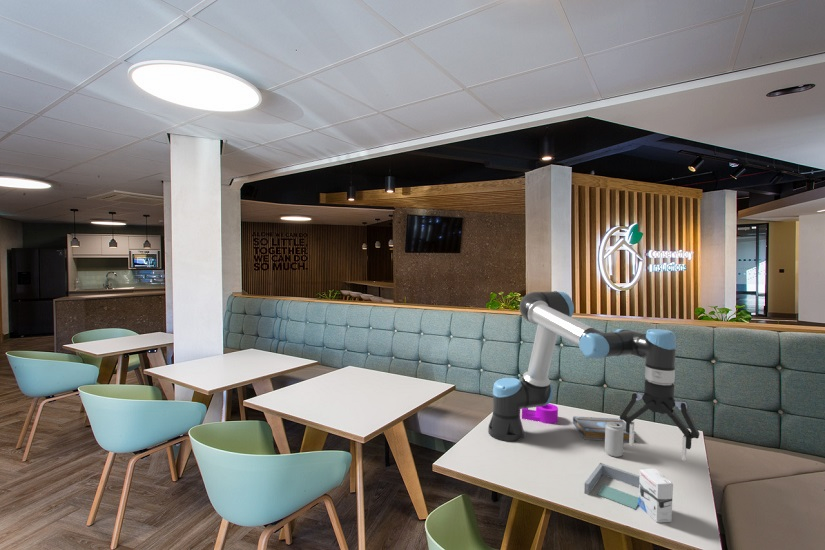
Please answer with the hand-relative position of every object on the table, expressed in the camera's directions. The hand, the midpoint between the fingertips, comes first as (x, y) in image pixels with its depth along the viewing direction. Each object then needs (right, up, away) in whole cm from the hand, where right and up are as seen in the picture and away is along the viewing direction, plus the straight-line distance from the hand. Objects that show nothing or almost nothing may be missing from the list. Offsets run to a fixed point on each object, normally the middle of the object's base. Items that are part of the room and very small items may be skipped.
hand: (656, 450), depth 118 cm
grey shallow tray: (+11, -17, +55) cm, 59 cm away
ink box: (0, -19, 0) cm, 19 cm away
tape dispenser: (-13, -16, +70) cm, 73 cm away
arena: (-6, -19, +11) cm, 22 cm away
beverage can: (+6, -18, +36) cm, 41 cm away
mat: (-7, -19, +8) cm, 22 cm away
